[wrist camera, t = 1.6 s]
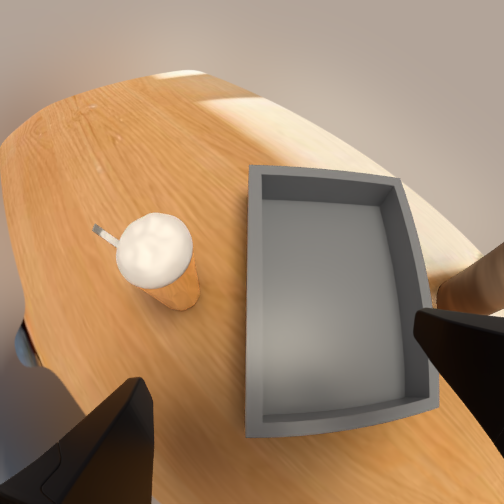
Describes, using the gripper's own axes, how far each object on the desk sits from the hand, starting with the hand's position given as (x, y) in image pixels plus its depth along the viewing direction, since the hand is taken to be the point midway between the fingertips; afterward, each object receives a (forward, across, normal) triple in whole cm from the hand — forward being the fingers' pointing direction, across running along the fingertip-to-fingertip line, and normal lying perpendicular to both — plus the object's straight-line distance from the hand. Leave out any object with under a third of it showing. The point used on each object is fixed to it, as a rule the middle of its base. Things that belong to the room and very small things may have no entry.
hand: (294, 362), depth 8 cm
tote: (+13, -7, +5) cm, 16 cm away
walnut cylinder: (+10, -20, +8) cm, 24 cm away
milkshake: (+15, +6, +3) cm, 16 cm away
